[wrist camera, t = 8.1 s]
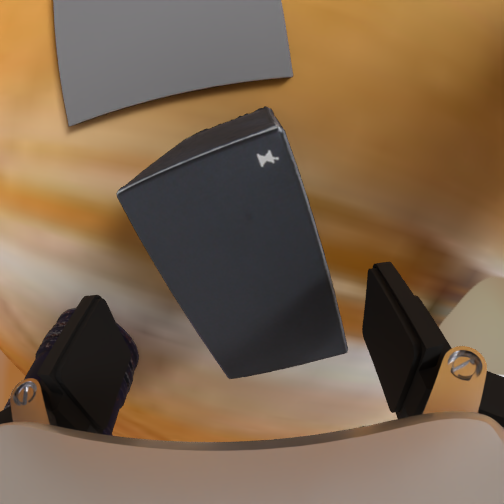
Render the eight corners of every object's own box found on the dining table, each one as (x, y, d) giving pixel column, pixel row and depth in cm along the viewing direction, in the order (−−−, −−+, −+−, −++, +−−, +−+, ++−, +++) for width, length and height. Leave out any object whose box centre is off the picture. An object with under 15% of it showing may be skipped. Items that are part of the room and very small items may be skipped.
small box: (175, 141, 19) (102, 191, 9) (270, 104, 17) (287, 114, 8) (235, 272, 23) (224, 386, 14) (318, 246, 22) (355, 353, 13)
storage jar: (45, 300, 25) (-29, 415, 12) (130, 314, 26) (70, 463, 13) (72, 365, 30) (27, 468, 17) (146, 381, 31) (115, 502, 18)
